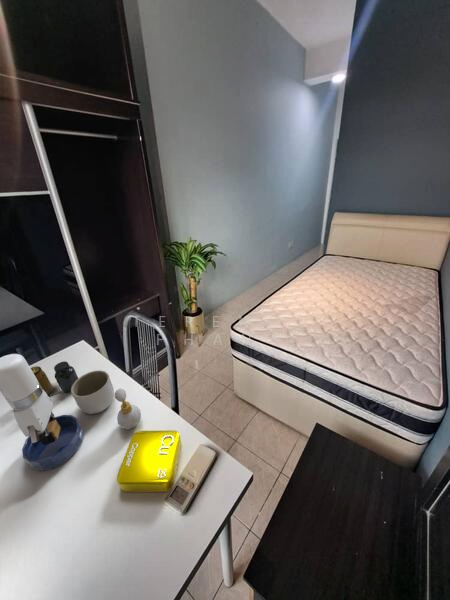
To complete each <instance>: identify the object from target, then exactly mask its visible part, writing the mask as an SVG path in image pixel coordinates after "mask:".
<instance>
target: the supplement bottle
mask: <svg viewBox="0 0 450 600" xmlns="http://www.w3.org/2000/svg"><path fill="white" fill-rule="evenodd" d="M53 370H54V379H55V382H57V383H58V384H59V386H60V391H61V392H62V393H63V394H72V393H71V387H72V385H73V384H74V382H75V381H76V380H77V379H78V378H79V376H78V374H77V371H76V369H75V368H74V367H73V366H72V365H70V364H69V362H68V361H60V362H58V363H57V364H55V365H54V366H53Z"/></svg>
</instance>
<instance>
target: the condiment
mask: <svg viewBox="0 0 450 600" xmlns="http://www.w3.org/2000/svg"><path fill="white" fill-rule="evenodd" d="M30 368H31V370H32V372H33V373H34V375H35V377H36V379H37V380H38V382H39V384H40V385H41V387H42V389H43V390H44V391H45V393H46V394H47V395H48V397H49V398H50V397H52V396H54V395H56V394H58V393H60V392H61V388H60V386H59V384H58V383H57V381H55V382H53V383H52V382H51V381H50V379H49V377H48V376H47V374H46V372H45V370H43V369H42V367H41V366H39V365H38V366H37V365H35V366H31V367H30Z"/></svg>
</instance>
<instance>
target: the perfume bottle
mask: <svg viewBox="0 0 450 600" xmlns="http://www.w3.org/2000/svg"><path fill="white" fill-rule="evenodd" d="M114 399H115V400H116V401H117V402H119V403H121V405H120V410H119V412H118V413H117V417H116V420H117V424H118V425H119V427H121V428H122V429H125V430H130V429H133V428H135V427H136V426H137V425H138V424H139V423H140V421H141V417H142V413H141V412H142V411H141V410H140V408H139V407H138V406H137V405H135V404H131V403H130V402H129V401H126V399H127V392H126V390H125V389H124V388H118V389H116V390H115V391H114Z"/></svg>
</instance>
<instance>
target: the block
mask: <svg viewBox="0 0 450 600" xmlns="http://www.w3.org/2000/svg"><path fill="white" fill-rule="evenodd" d="M47 429H48V432H51V433H52V435H53V437H54V438H55V440H56V439H58V436H59V433H60V429H61V427H60V426H59V424H58V422H57V421H56V420H54V421H50V422H48V424H47ZM39 433H40V434H41V433H44V432H41V431H39Z"/></svg>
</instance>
